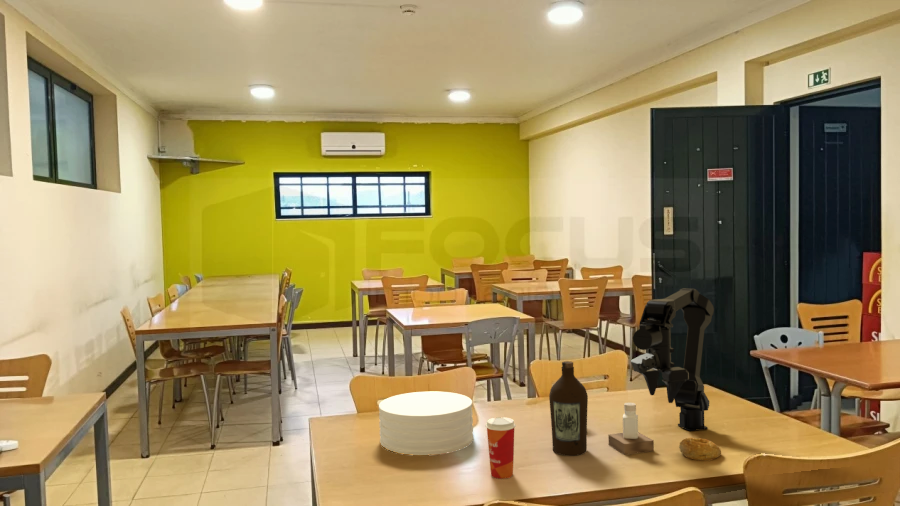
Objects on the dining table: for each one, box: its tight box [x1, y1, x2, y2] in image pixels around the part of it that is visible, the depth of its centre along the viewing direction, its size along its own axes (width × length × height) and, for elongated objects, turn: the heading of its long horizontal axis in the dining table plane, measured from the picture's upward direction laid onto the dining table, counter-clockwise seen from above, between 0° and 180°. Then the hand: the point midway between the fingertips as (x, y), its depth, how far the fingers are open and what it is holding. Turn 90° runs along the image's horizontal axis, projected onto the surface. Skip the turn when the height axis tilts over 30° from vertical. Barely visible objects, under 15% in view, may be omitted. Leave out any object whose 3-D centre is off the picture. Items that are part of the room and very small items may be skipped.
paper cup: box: [485, 416, 516, 480], centre depth 172 cm, size 8×8×14 cm
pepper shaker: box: [622, 402, 639, 439], centre depth 189 cm, size 4×4×10 cm
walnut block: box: [608, 431, 655, 456], centre depth 190 cm, size 9×9×3 cm
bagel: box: [678, 437, 722, 461], centre depth 182 cm, size 10×11×5 cm
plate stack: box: [378, 390, 474, 456], centre depth 202 cm, size 28×28×12 cm
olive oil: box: [548, 360, 589, 457], centre depth 189 cm, size 11×11×25 cm
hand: (661, 398), depth 192 cm, fingers open, 9 cm apart
